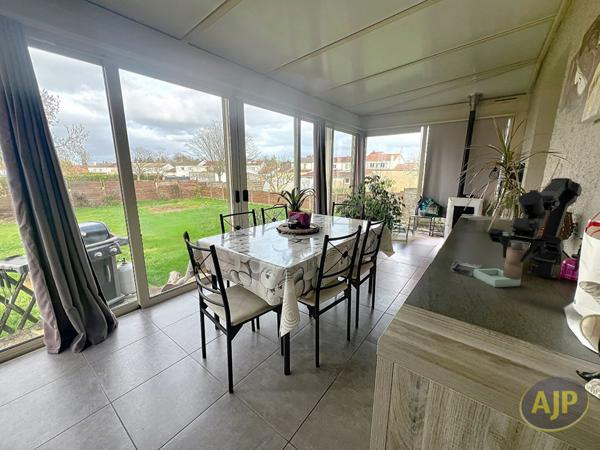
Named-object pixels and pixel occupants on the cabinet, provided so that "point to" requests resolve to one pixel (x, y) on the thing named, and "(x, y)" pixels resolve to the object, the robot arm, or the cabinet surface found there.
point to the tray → (495, 278)
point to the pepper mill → (514, 261)
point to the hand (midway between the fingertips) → (512, 259)
